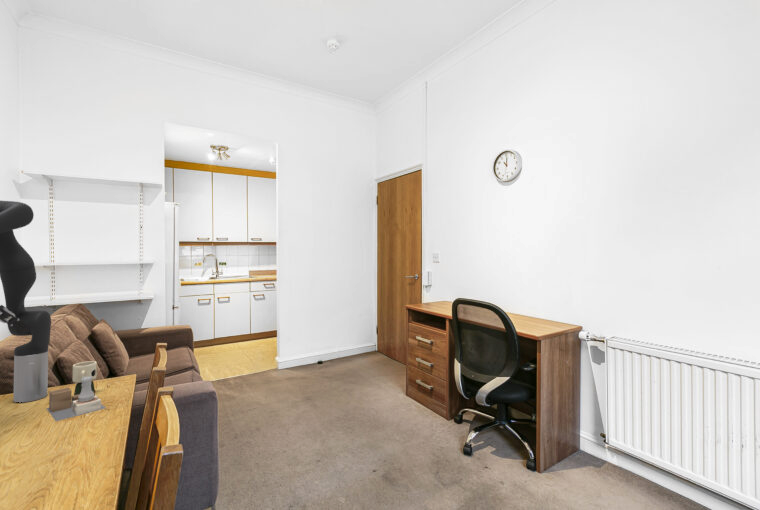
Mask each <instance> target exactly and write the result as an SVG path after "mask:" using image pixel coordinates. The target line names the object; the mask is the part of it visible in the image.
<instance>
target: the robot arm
mask: <svg viewBox="0 0 760 510" xmlns="http://www.w3.org/2000/svg"><path fill="white" fill-rule="evenodd" d="M33 220H34V211H33V208H32V207H31V206H30V205H28V204H27V203H24V202H21V201H13V200H0V280H1V285H2V289H3V293H4V294H3V295H4V300H5V305H3V304H0V322H1V323H2V324H7V329H8V332H9V334H11V335H12V336H16V337H20V336H21V337H24V336H26V337H27V336H31V339H30V341H28V342H26V343H24V344H21V345H18V346H16V347H15V348H14V350H13V358H14V359H13V403H16V402H19V403H18V404H20V403H21V402H22V403H29V402H33V401H38V400H41V399H43V398H46V397H47V396H48V384H49V383H48V381H49V380H48V378H49V377H48V376H49V375H48V374H49V345H50V340H51V328H52V316H51V314H50V312H49V311H46V310H26V308H25V300H26V296H27V295H28V293H29V292H30V291H31V288H32V287H33V286H34V284H35V283H36V280H37V272H36V271H37V270H36V266H35V262H34V260H33V258H32V256H31V255H30V254H29V253H28V251H27V250H26V249H25V248H24V247H23V245H21V244H20V243H19V241H18V240H17V238H16V236H15V234H14V230H17V229H21V228H24V227H26V226H28V225H30V224H31V223H32V221H33Z"/></svg>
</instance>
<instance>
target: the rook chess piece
mask: <svg viewBox="0 0 760 510" xmlns="http://www.w3.org/2000/svg"><path fill="white" fill-rule="evenodd" d="M91 380H92V378H91V376H88V377H87V376H85V378H84V377H82V379H81V380H80V381H81V382H82V384H81V386H82V389H81V393H80V395H79V396H78V398H79V400H78V401H79V402H88V401H91V400H93V399H94V393H95V392H94V393H93V391H92V390H91ZM92 381H93V380H92Z"/></svg>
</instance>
